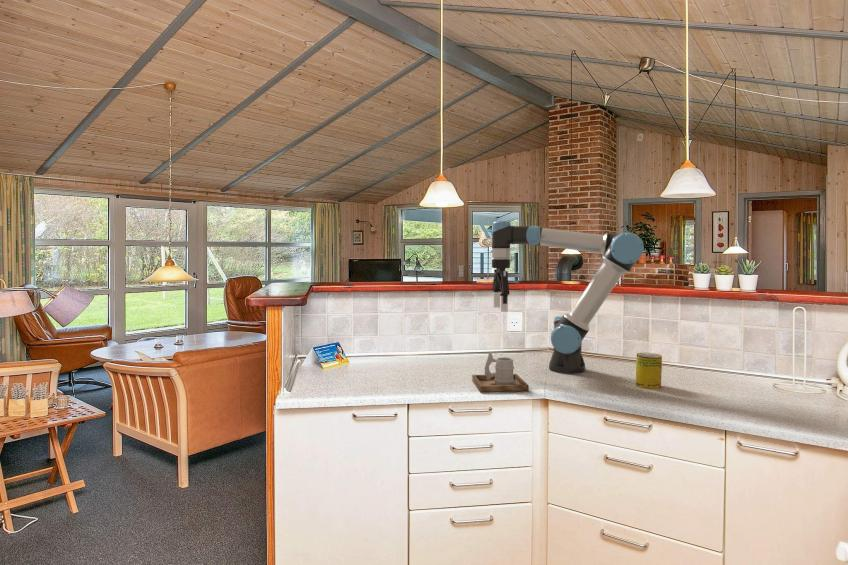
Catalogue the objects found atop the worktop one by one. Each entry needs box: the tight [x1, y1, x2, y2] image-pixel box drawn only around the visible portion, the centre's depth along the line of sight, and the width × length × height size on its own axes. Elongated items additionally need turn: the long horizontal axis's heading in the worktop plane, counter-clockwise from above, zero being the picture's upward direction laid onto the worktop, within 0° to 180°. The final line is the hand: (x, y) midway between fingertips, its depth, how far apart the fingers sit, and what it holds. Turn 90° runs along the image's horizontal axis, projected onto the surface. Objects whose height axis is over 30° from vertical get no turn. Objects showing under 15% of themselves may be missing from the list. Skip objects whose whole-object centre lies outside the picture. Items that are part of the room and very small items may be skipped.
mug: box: [484, 351, 515, 385], centre depth 213 cm, size 8×12×12 cm, turn 68°
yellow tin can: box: [635, 352, 663, 390], centre depth 212 cm, size 9×9×12 cm
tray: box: [471, 373, 530, 394], centre depth 212 cm, size 18×17×2 cm
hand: (500, 309), depth 231 cm, fingers open, 13 cm apart
